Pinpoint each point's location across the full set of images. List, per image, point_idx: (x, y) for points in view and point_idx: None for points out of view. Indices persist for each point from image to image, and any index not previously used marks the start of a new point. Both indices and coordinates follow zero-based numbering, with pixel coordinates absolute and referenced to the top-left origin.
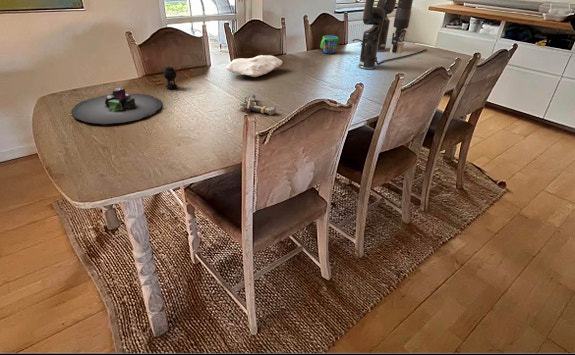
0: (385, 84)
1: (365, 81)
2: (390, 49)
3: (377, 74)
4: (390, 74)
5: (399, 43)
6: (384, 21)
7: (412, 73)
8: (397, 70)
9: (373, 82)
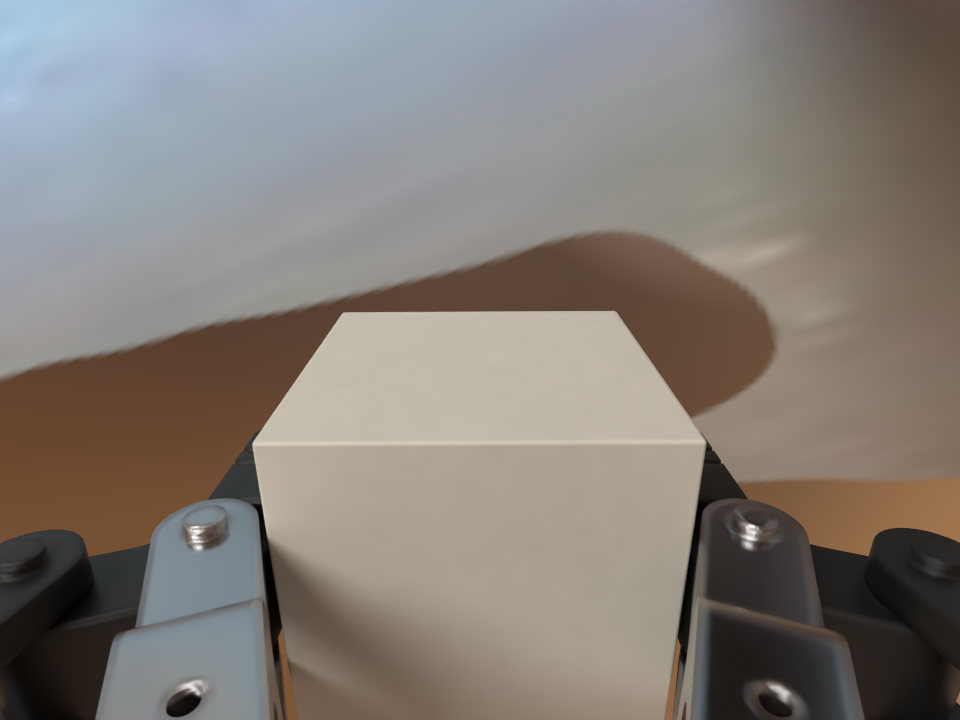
0: (159, 321)
1: (34, 48)
2: (322, 347)
3: (492, 42)
4: (622, 206)
5: (440, 680)
6: None
7: (844, 415)
8: (892, 211)
9: (97, 165)
